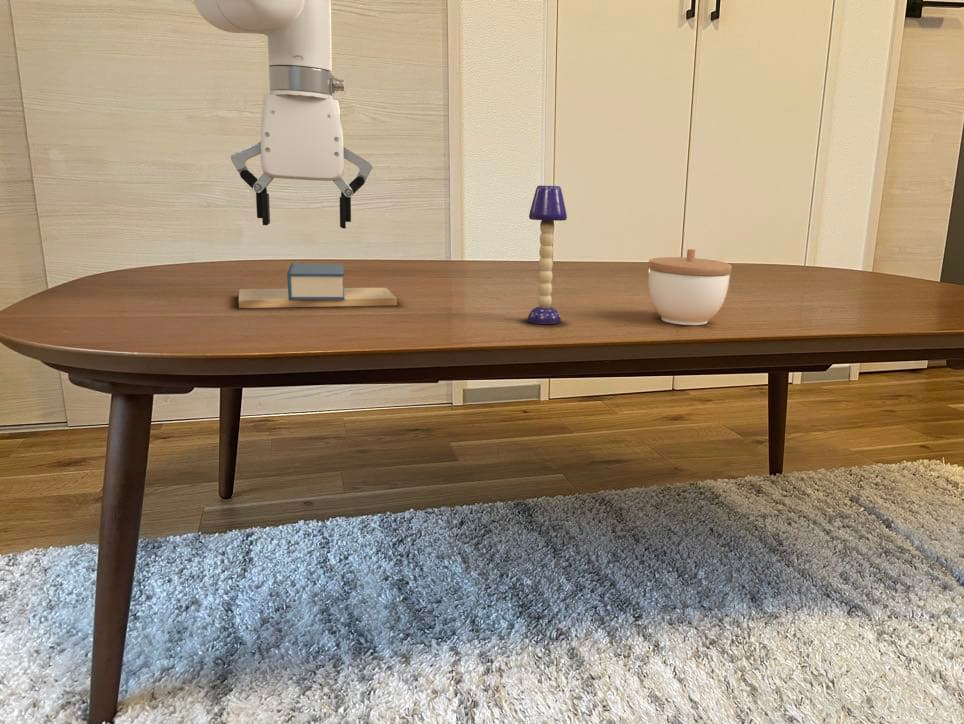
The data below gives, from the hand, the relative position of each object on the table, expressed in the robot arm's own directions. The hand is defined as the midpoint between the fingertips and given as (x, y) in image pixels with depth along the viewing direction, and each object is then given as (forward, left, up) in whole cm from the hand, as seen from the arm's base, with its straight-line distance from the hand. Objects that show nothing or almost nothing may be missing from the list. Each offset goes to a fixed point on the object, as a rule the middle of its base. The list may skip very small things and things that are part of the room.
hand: (305, 226), depth 102 cm
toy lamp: (-2, -32, -10) cm, 34 cm away
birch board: (+1, -1, -10) cm, 10 cm away
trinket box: (+5, -50, -10) cm, 52 cm away
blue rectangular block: (+1, -1, -9) cm, 9 cm away
